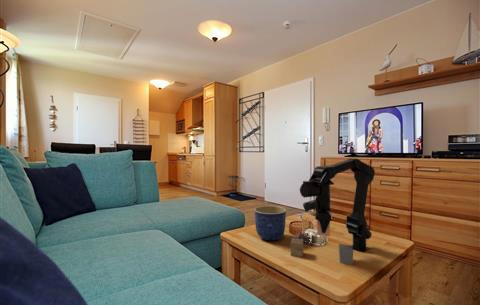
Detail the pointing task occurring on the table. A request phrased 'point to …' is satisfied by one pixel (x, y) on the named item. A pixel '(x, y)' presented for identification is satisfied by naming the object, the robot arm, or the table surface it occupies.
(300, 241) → the walnut block
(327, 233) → the terracotta block
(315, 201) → the robot arm
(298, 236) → the walkie-talkie
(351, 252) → the charcoal block
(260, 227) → the planter
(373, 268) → the table surface
